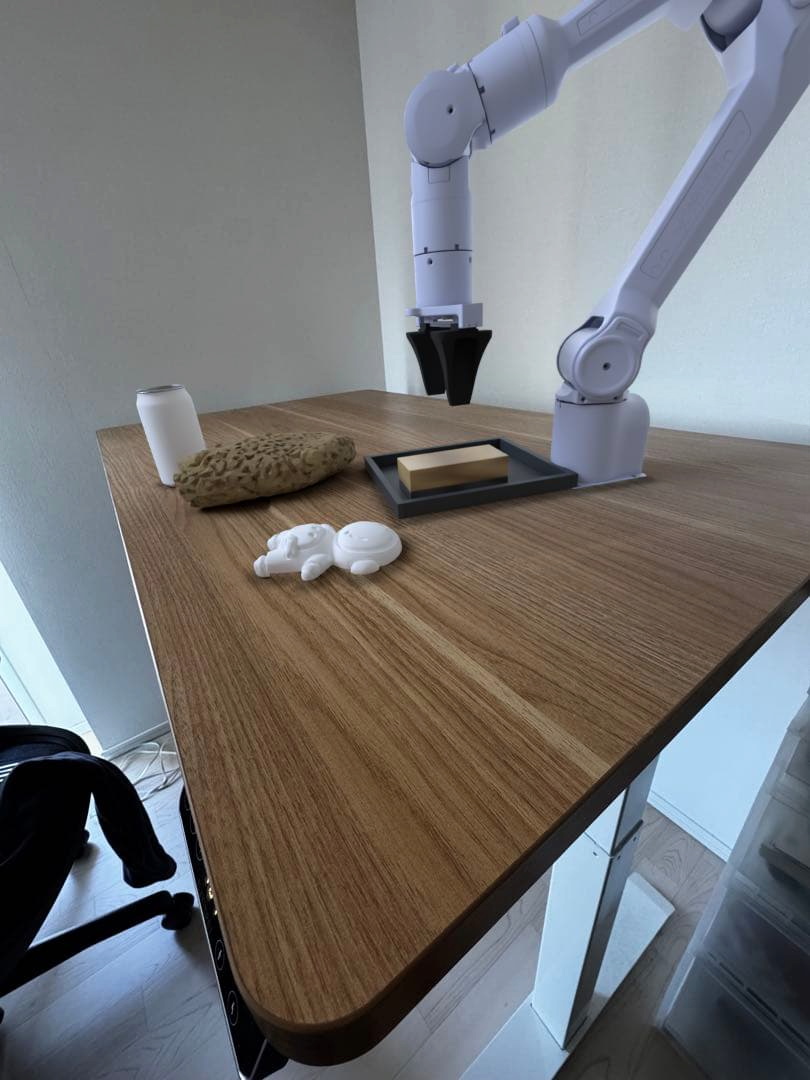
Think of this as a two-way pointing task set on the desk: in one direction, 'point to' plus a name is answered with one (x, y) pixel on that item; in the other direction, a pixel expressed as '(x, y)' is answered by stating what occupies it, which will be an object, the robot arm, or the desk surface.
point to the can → (169, 427)
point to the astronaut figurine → (329, 549)
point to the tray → (524, 480)
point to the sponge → (261, 467)
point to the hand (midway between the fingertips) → (446, 399)
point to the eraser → (452, 471)
